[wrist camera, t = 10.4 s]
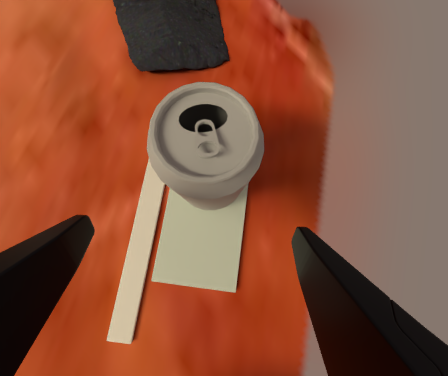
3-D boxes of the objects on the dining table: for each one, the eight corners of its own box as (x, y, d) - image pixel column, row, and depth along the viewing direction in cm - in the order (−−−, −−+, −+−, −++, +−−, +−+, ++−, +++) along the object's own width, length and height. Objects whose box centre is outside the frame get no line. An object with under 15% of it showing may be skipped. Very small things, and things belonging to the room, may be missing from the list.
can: (236, 146, 23) (258, 63, 11) (247, 206, 21) (285, 184, 10) (175, 153, 22) (130, 75, 11) (182, 215, 21) (139, 205, 9)
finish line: (132, 341, 19) (130, 343, 18) (108, 338, 19) (106, 340, 18) (173, 142, 23) (173, 140, 23) (154, 139, 23) (153, 137, 23)
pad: (235, 290, 20) (235, 292, 20) (152, 279, 20) (151, 281, 20) (251, 153, 23) (252, 152, 23) (180, 142, 23) (179, 141, 23)
